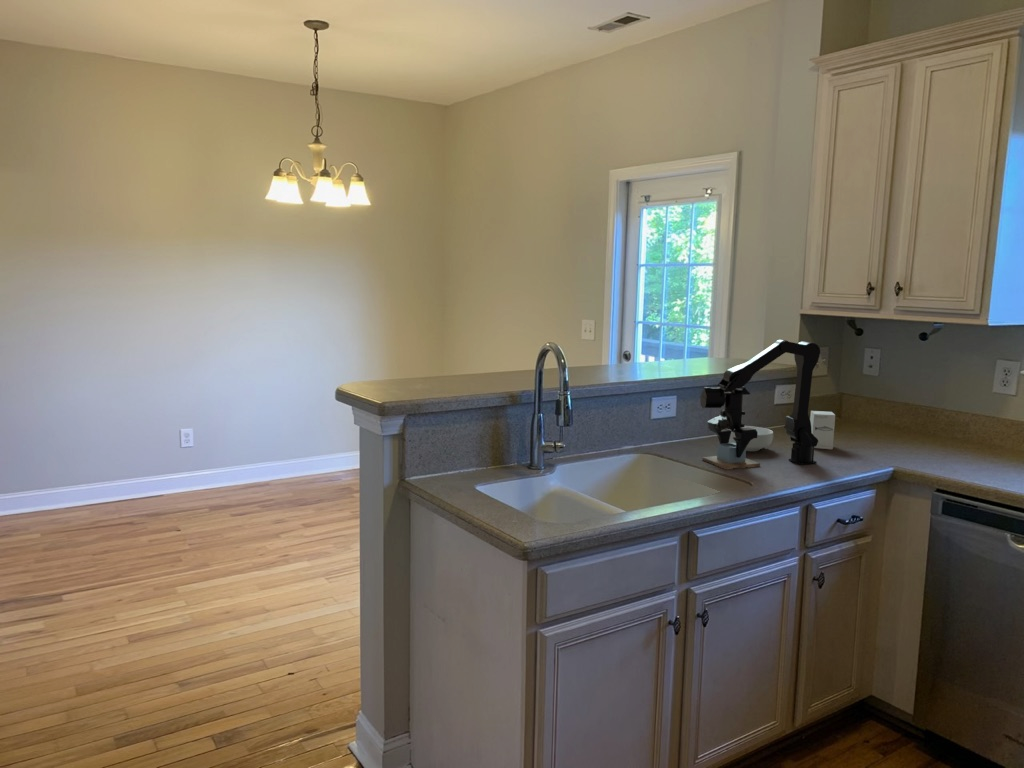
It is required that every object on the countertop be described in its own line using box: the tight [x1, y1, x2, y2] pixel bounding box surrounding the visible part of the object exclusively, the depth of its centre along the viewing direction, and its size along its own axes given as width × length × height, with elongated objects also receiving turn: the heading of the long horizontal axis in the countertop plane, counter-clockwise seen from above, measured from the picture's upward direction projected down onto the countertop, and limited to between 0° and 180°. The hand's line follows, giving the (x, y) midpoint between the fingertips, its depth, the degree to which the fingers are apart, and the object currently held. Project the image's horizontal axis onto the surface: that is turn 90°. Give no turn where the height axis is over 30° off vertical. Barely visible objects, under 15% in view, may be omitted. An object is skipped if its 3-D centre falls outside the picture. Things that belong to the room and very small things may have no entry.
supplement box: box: [809, 410, 836, 450], centre depth 271 cm, size 7×7×13 cm
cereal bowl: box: [729, 425, 774, 452], centre depth 268 cm, size 17×17×7 cm
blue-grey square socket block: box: [716, 443, 747, 463], centre depth 247 cm, size 6×6×5 cm
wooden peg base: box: [701, 446, 761, 470], centre depth 247 cm, size 13×13×6 cm
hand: (731, 454), depth 247 cm, fingers open, 7 cm apart
